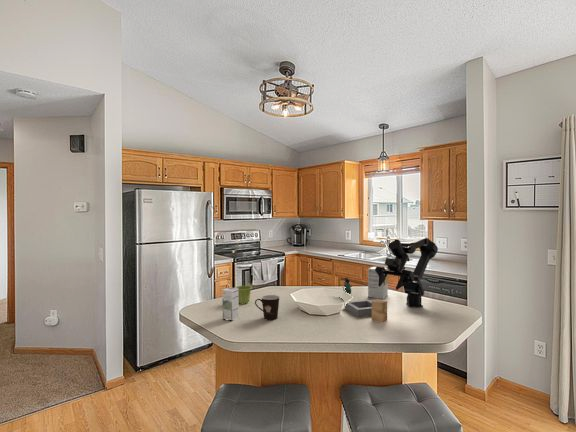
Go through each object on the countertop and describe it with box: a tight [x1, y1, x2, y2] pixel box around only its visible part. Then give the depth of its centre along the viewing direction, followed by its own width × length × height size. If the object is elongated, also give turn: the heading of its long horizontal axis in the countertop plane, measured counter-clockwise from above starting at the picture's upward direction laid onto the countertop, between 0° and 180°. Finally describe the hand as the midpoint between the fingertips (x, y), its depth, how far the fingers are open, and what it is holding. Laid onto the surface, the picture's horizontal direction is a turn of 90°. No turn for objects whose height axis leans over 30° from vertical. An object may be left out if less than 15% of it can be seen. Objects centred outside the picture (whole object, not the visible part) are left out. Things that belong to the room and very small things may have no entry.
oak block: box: [371, 298, 388, 324], centre depth 150 cm, size 5×5×9 cm
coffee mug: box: [254, 294, 280, 321], centre depth 156 cm, size 12×9×10 cm
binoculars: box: [343, 277, 353, 295], centre depth 193 cm, size 9×11×10 cm
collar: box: [344, 299, 373, 318], centre depth 164 cm, size 14×14×4 cm
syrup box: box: [221, 287, 240, 321], centre depth 154 cm, size 6×6×14 cm
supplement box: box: [367, 266, 389, 300], centre depth 192 cm, size 10×9×17 cm
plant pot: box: [234, 285, 253, 304], centre depth 182 cm, size 9×9×9 cm
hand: (387, 287), depth 155 cm, fingers open, 9 cm apart
